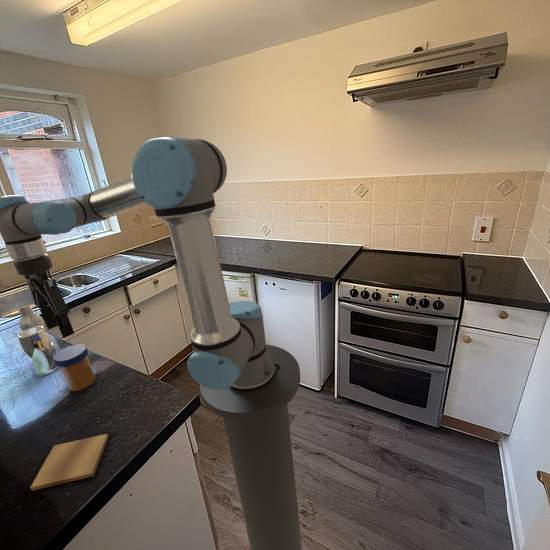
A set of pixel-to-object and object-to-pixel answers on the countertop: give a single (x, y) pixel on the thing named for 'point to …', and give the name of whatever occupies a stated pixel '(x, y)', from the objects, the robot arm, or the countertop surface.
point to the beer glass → (38, 349)
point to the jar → (79, 375)
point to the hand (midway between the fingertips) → (61, 331)
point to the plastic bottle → (32, 321)
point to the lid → (70, 355)
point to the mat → (71, 462)
